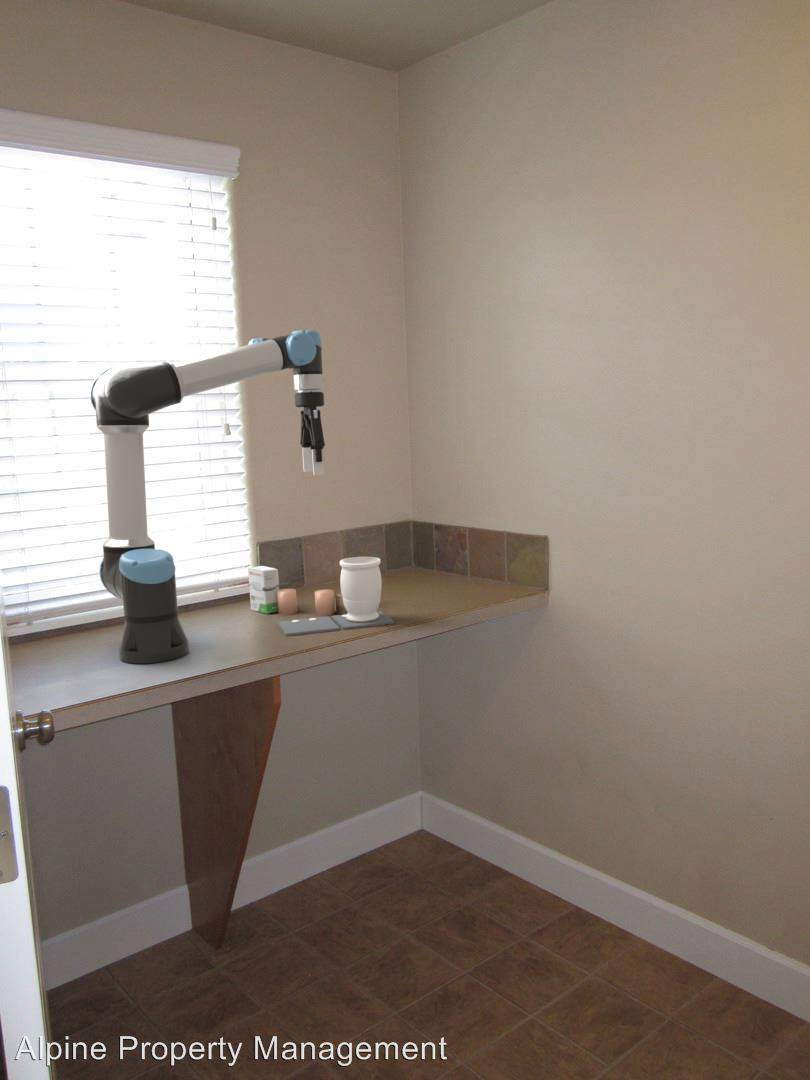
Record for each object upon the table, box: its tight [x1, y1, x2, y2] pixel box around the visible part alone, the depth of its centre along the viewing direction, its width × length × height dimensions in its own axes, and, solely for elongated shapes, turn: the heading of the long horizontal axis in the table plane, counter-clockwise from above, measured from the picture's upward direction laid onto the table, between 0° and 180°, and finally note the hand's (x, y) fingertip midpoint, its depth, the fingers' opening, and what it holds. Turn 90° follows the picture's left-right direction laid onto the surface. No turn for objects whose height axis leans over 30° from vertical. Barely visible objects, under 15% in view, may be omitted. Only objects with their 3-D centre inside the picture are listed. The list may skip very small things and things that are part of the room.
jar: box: [339, 556, 383, 622], centre depth 223 cm, size 11×10×15 cm
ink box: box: [247, 565, 280, 615], centre depth 240 cm, size 9×5×12 cm, turn 39°
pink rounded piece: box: [314, 588, 336, 617], centre depth 234 cm, size 5×5×6 cm
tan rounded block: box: [277, 588, 298, 616], centre depth 237 cm, size 5×5×6 cm
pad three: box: [331, 610, 395, 630], centre depth 224 cm, size 13×13×1 cm
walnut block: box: [334, 592, 348, 615], centre depth 234 cm, size 5×5×5 cm
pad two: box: [277, 616, 340, 637], centre depth 220 cm, size 13×13×1 cm
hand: (313, 473), depth 233 cm, fingers open, 13 cm apart
